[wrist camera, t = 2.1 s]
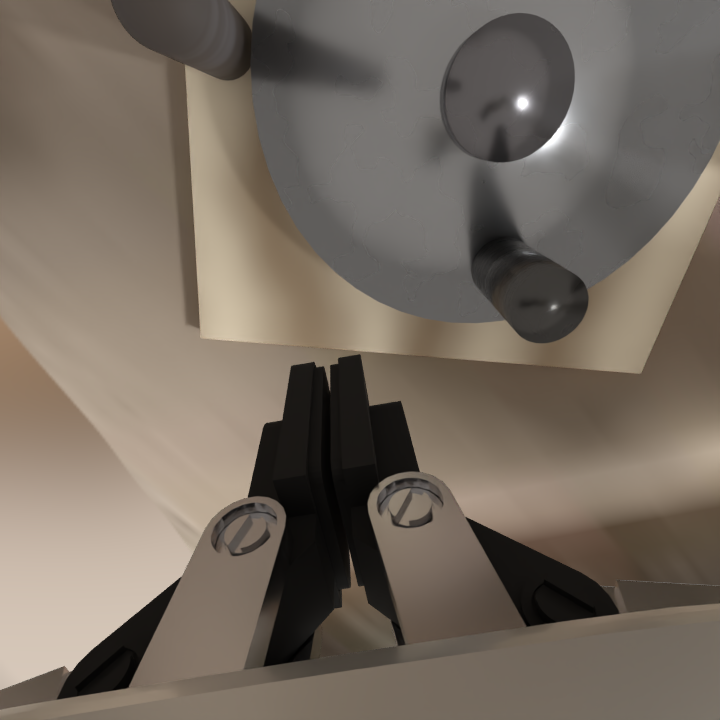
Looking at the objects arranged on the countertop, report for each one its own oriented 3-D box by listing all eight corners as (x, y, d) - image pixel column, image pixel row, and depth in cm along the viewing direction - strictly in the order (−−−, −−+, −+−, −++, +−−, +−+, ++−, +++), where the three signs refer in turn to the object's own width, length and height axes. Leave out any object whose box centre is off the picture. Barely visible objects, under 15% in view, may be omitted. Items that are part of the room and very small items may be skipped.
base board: (897, -261, 15) (1390, -611, 8) (630, 365, 26) (740, 454, 19) (167, -418, 13) (-36, -1060, 6) (205, 330, 24) (148, 414, 17)
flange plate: (868, -301, 13) (1268, -630, 8) (619, 326, 23) (715, 393, 17) (259, -435, 12) (183, -967, 6) (256, 294, 21) (224, 355, 15)
